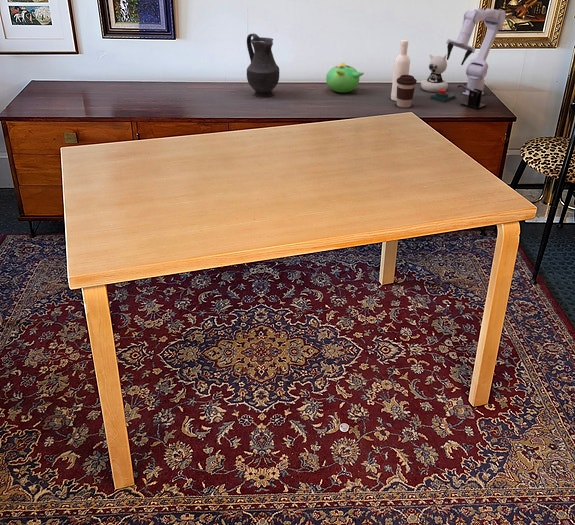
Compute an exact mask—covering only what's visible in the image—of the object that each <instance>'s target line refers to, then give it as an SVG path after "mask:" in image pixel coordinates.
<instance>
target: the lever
mask: <svg viewBox="0 0 575 525" xmlns="http://www.w3.org/2000/svg"><path fill="white" fill-rule="evenodd" d="M457 88H462V89H464V90H465V91H466V90H467V91H469V92H470V90H471V89H469V88H468V87H467V84H466V83H462V84H459V85H457ZM474 91H476V90H474ZM477 92H478V91H477ZM479 93H480V92H478V96H479ZM478 96H477V97H478Z"/></svg>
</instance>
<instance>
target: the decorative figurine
mask: <svg viewBox="0 0 575 525" xmlns="http://www.w3.org/2000/svg"><path fill="white" fill-rule="evenodd" d="M447 54H448V53H447ZM447 54H445V55H444V56H441V55H436V56H434V55H432V54H429V59H430V61H429V63H428V64H429V65H428V69H429V71H430V74H429V76H428V77H427V78H425V79H423V80H422V81H421V82H420V87H421V89H422V90H423V91H425V92H429V93H436V92H437V91H439V90H440V89H445V90H446V91H447V90H448V88H449V83H448V82H447V81H446V80H444V79H443V76H442V74H443V73H444V72H446V70H447V67H448V62H447V61H448V60H446V59H447Z"/></svg>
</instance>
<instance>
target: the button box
mask: <svg viewBox="0 0 575 525" xmlns="http://www.w3.org/2000/svg"><path fill="white" fill-rule="evenodd" d="M430 99H431V100H434V101H438V102H441V103H445V102H448V101H451V100H455V99H456V94H452V93H449V92H448V91H446V94H440V93H439V91H437V92H435V94H432V95H430Z"/></svg>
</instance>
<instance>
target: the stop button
mask: <svg viewBox="0 0 575 525" xmlns="http://www.w3.org/2000/svg"><path fill="white" fill-rule="evenodd" d="M446 92H447V90H445V89H440V90H439V93H440V94H446Z"/></svg>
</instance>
